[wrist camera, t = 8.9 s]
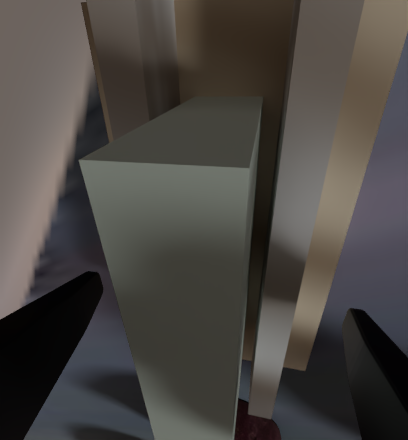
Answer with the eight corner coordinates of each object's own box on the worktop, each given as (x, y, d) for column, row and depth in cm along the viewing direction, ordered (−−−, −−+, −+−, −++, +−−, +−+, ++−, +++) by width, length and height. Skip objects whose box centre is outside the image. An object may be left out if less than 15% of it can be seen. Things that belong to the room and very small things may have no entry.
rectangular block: (245, 326, 15) (228, 492, 10) (204, 319, 16) (164, 474, 10) (263, 96, 9) (249, 168, 3) (195, 96, 10) (78, 160, 4)
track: (303, 355, 17) (311, 428, 14) (154, 329, 19) (130, 387, 16) (407, -14, 8) (507, -65, 5) (97, 7, 10) (6, -18, 6)
